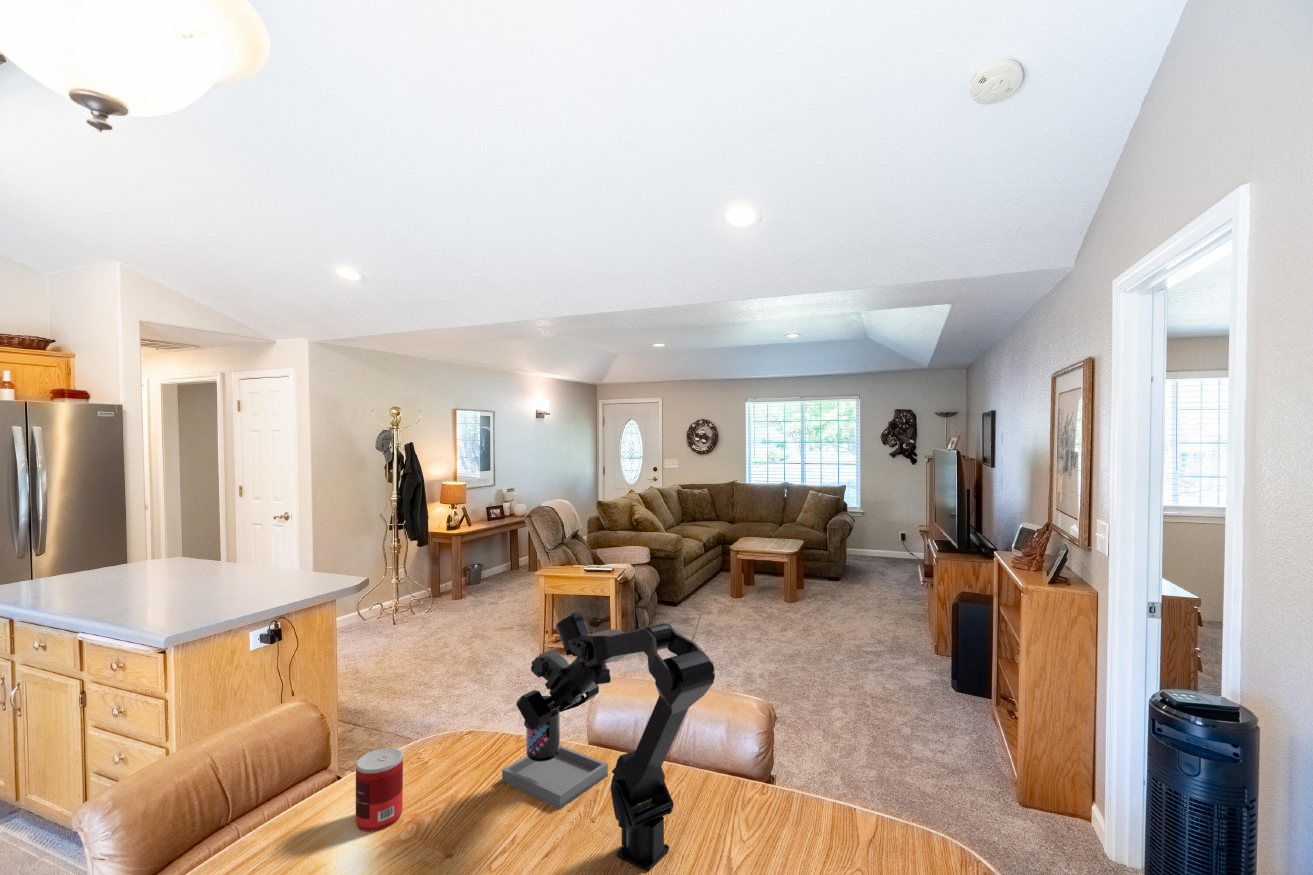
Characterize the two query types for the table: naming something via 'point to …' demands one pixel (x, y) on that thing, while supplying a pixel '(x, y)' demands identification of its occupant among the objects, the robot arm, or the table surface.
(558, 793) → the tray
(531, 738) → the supplement container
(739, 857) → the table surface
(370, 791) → the canned food
